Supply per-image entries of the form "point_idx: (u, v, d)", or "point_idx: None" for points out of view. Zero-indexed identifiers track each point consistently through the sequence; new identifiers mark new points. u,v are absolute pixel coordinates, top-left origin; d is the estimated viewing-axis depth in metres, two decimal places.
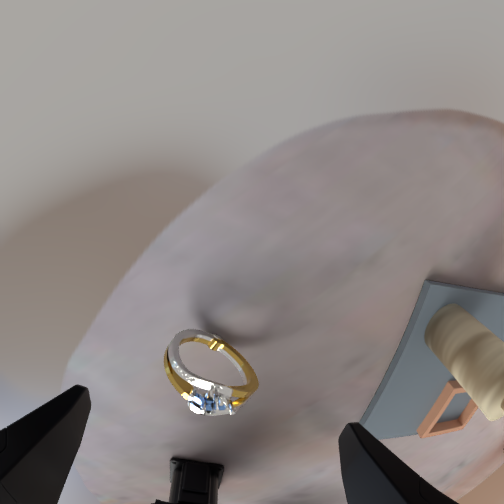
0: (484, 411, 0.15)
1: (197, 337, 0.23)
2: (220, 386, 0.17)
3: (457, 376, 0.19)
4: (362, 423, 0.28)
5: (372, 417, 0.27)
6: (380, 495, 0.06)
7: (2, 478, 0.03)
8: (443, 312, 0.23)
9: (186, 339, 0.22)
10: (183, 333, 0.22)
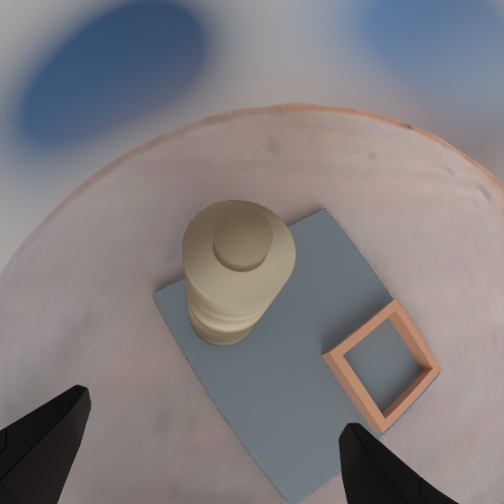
0: (219, 300, 0.13)
1: None
2: None
3: (210, 323, 0.17)
4: None
5: (267, 465, 0.18)
6: (380, 495, 0.06)
7: (2, 478, 0.03)
8: None
9: None
10: None
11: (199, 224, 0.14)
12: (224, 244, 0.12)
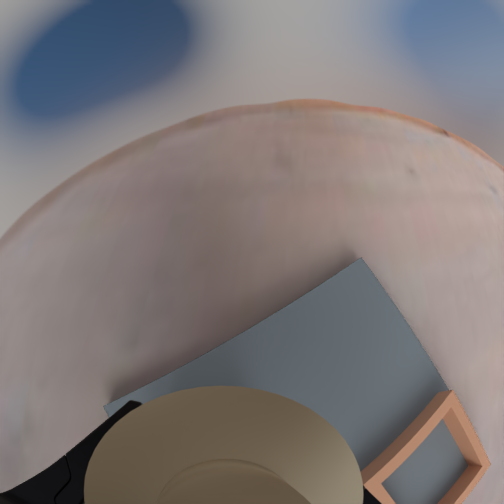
0: None
1: None
2: None
3: None
4: None
5: None
6: None
7: None
8: None
9: None
10: None
11: (115, 461, 0.04)
12: None
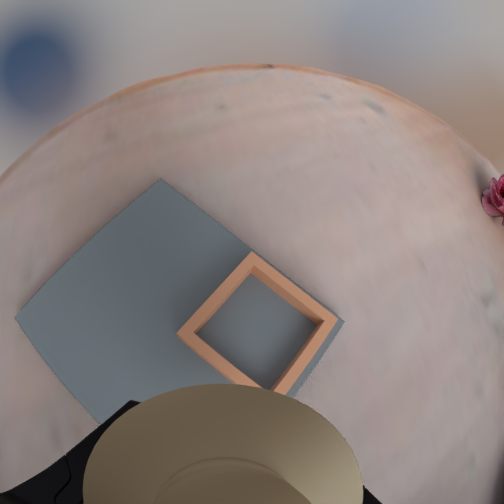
0: None
1: None
2: None
3: None
4: None
5: None
6: None
7: None
8: None
9: None
10: None
11: (114, 459, 0.04)
12: None
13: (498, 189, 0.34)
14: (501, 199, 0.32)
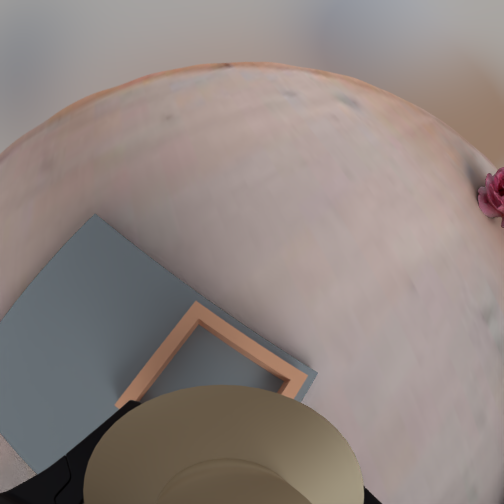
0: None
1: None
2: None
3: None
4: None
5: None
6: None
7: None
8: None
9: None
10: None
11: (115, 460, 0.04)
12: None
13: (495, 186, 0.30)
14: (500, 198, 0.29)
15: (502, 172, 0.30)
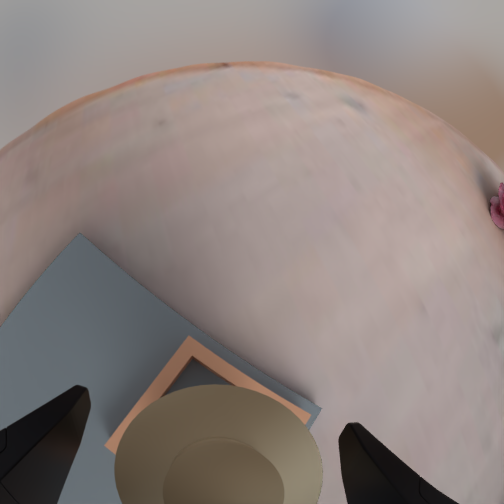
0: None
1: None
2: None
3: None
4: None
5: None
6: (380, 495, 0.06)
7: (2, 478, 0.03)
8: None
9: None
10: None
11: (139, 440, 0.06)
12: None
13: None
14: None
15: None
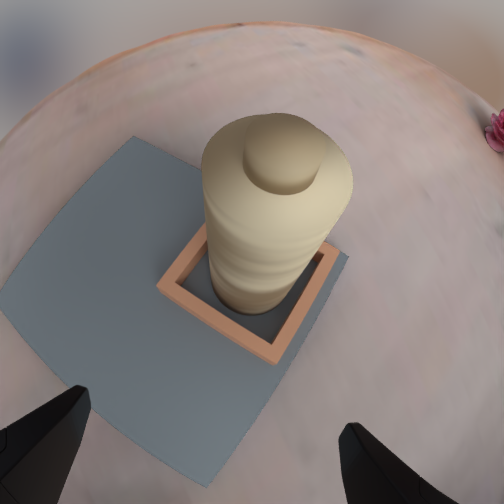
0: (256, 236, 0.09)
1: None
2: None
3: (240, 281, 0.13)
4: None
5: (149, 444, 0.15)
6: (380, 495, 0.06)
7: (3, 478, 0.03)
8: None
9: None
10: None
11: (222, 141, 0.10)
12: (261, 152, 0.08)
13: (500, 124, 0.30)
14: None
15: None
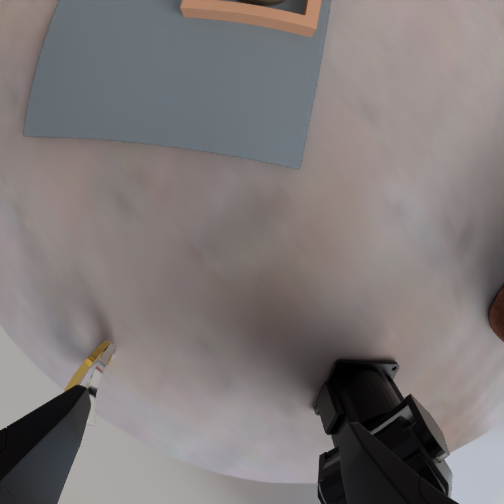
0: None
1: None
2: None
3: None
4: (252, 159, 0.18)
5: (232, 147, 0.18)
6: (380, 495, 0.06)
7: (2, 478, 0.03)
8: None
9: None
10: (86, 385, 0.21)
11: None
12: None
13: None
14: None
15: None
